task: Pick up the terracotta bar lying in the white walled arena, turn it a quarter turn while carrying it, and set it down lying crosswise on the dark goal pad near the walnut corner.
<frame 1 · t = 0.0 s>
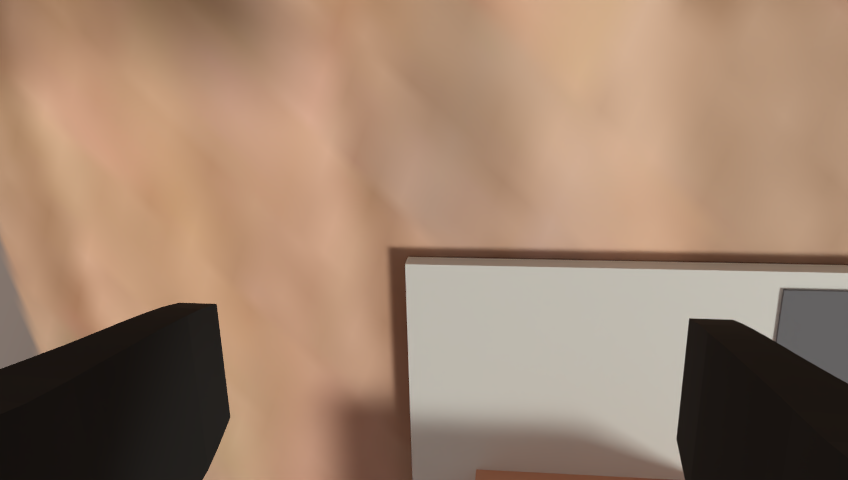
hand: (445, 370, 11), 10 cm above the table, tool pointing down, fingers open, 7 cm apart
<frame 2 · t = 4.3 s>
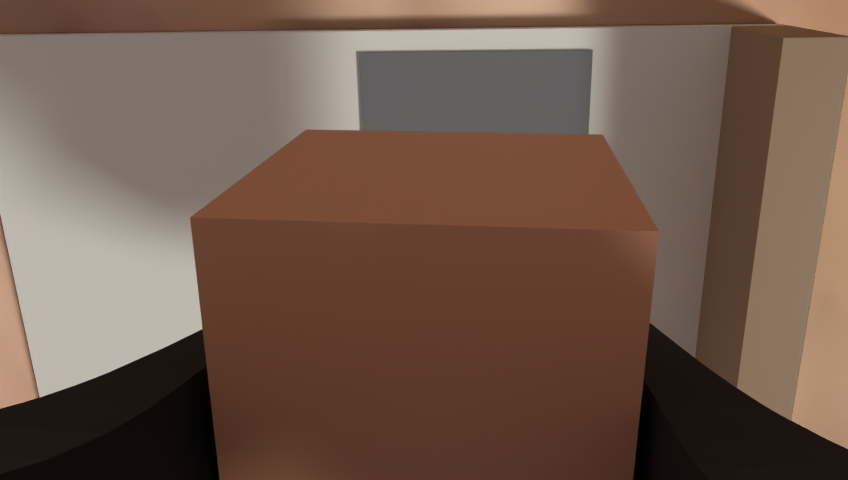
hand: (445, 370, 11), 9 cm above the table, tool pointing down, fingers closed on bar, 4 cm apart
goal pad: (473, 213, 19), resting on arena
arena: (367, 324, 21), on the table
bar: (449, 339, 13), point 8 cm above the table, touching gripper
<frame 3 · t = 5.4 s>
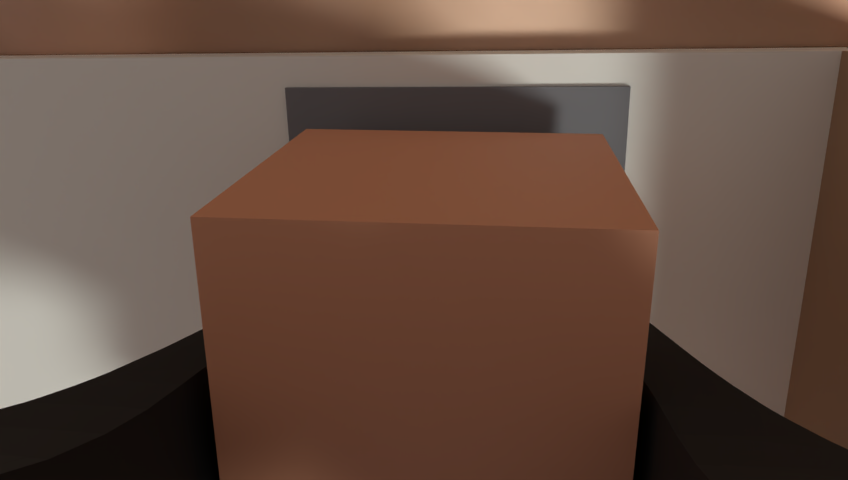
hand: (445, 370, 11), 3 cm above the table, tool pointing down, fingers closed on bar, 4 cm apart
goal pad: (455, 314, 13), resting on arena
arena: (312, 453, 15), on the table
bar: (449, 339, 13), point 1 cm above the table, touching gripper
when the fingers open (3 cm above the table, at t = 6.2 s): bar stays where it is, resting on goal pad.
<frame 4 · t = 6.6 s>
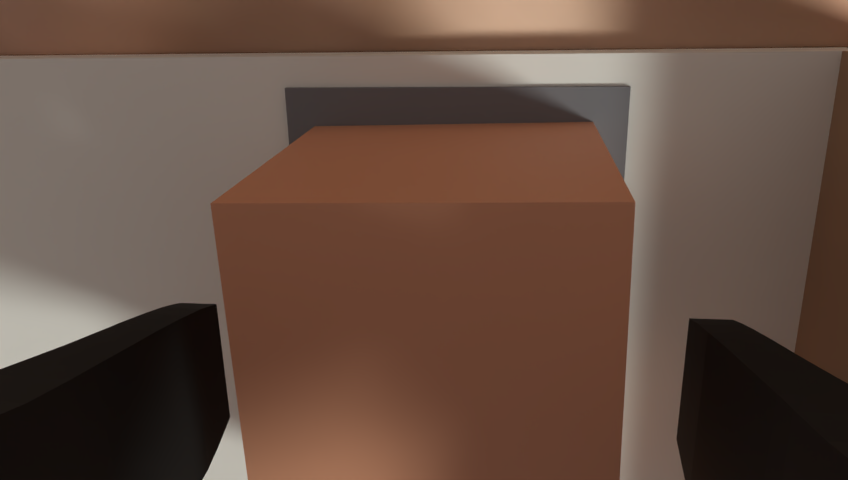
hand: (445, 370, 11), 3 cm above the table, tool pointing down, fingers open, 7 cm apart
goal pad: (455, 314, 13), resting on arena
arena: (312, 453, 15), on the table
bar: (455, 321, 13), point 1 cm above the table, touching goal pad
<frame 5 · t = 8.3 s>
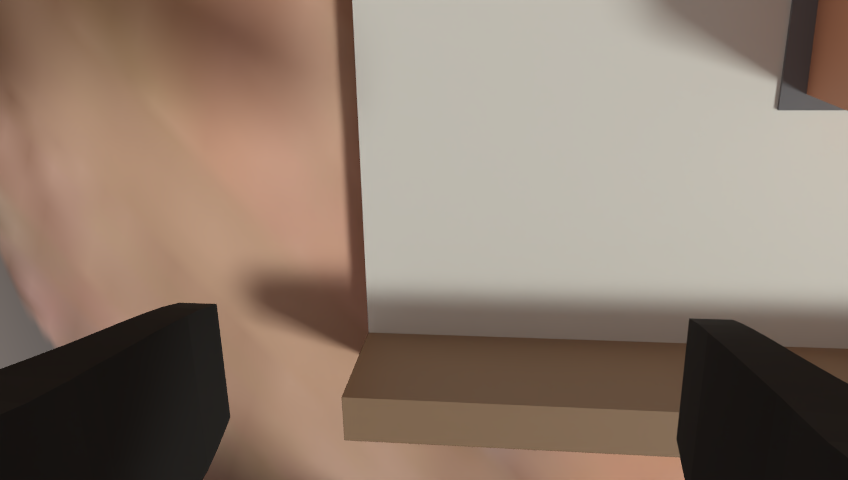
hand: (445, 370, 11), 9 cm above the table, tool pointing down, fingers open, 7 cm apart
arena: (761, 85, 18), on the table
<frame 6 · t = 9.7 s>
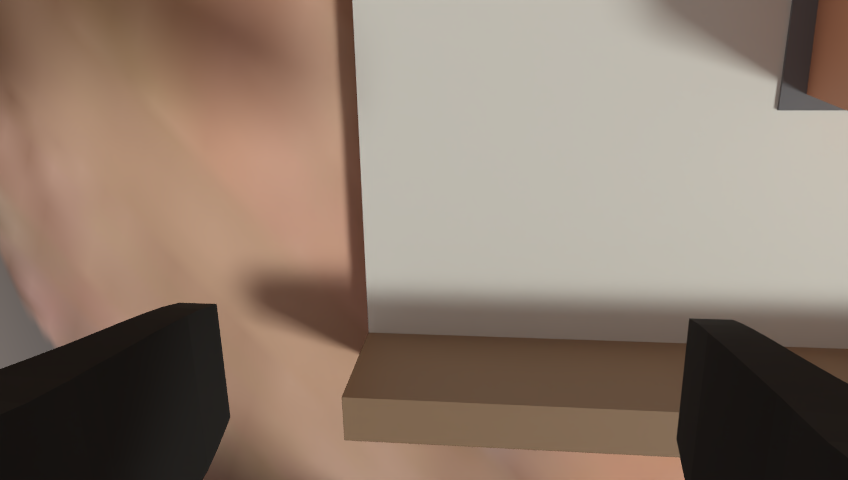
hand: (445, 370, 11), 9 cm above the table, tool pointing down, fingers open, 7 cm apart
arena: (761, 85, 18), on the table
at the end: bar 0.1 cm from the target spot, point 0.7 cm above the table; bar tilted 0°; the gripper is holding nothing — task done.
